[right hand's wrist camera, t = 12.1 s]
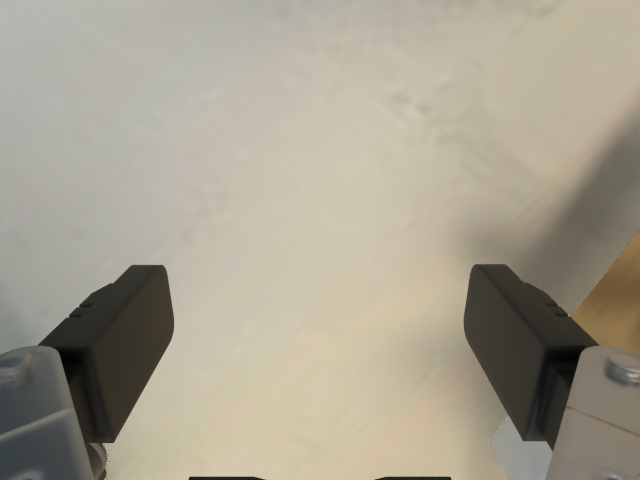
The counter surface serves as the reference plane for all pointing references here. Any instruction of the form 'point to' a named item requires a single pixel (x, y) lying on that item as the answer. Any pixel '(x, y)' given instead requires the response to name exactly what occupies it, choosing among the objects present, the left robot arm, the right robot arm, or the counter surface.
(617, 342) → the bar
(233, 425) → the counter surface
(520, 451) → the left robot arm
